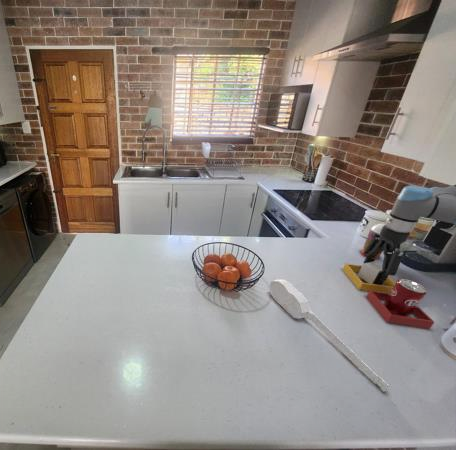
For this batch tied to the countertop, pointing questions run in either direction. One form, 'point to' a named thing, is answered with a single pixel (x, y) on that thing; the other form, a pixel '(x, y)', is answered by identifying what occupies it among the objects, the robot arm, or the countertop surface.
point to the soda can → (404, 298)
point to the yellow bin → (350, 270)
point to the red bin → (420, 320)
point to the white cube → (369, 271)
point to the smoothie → (373, 230)
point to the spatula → (316, 323)
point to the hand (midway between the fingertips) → (369, 278)
